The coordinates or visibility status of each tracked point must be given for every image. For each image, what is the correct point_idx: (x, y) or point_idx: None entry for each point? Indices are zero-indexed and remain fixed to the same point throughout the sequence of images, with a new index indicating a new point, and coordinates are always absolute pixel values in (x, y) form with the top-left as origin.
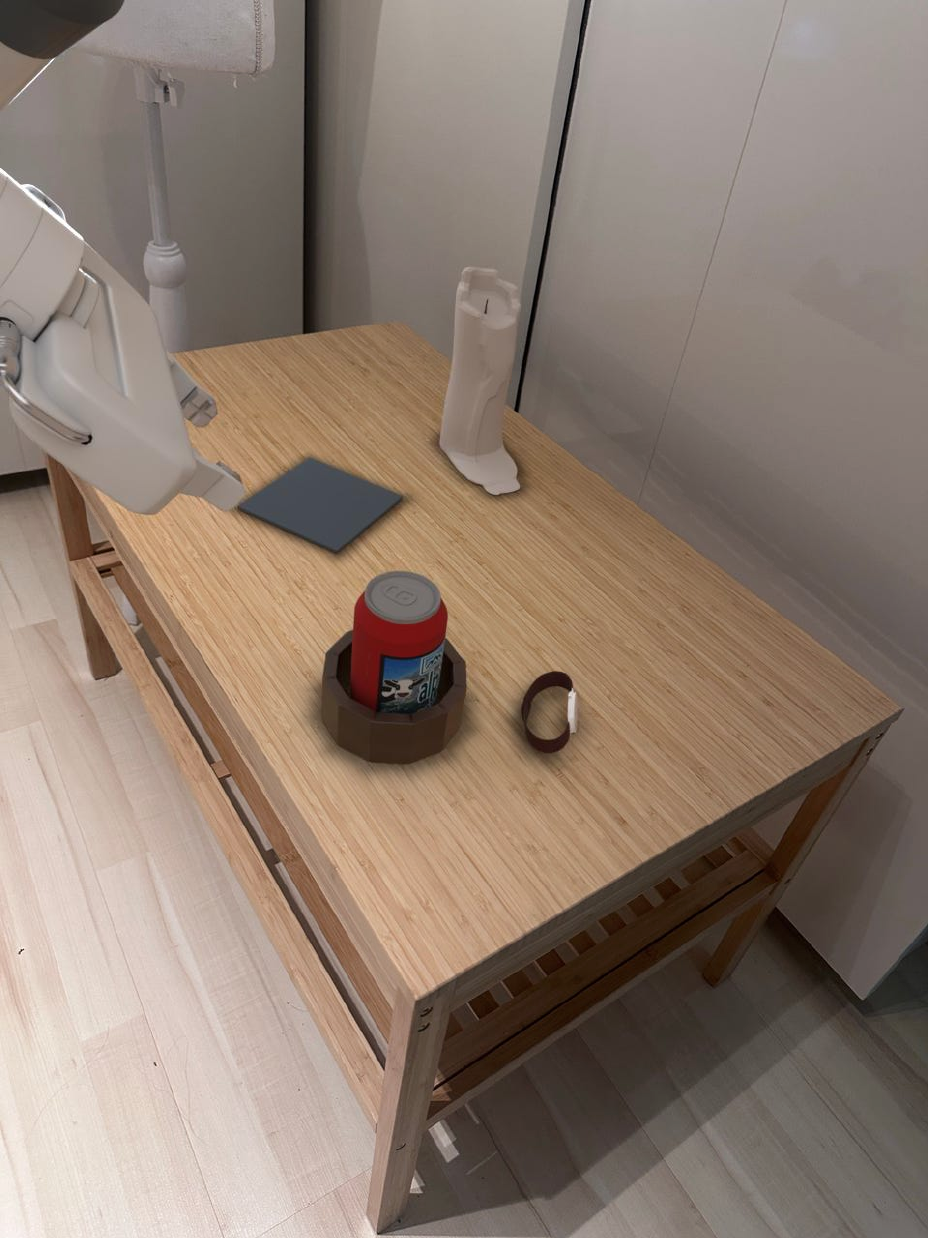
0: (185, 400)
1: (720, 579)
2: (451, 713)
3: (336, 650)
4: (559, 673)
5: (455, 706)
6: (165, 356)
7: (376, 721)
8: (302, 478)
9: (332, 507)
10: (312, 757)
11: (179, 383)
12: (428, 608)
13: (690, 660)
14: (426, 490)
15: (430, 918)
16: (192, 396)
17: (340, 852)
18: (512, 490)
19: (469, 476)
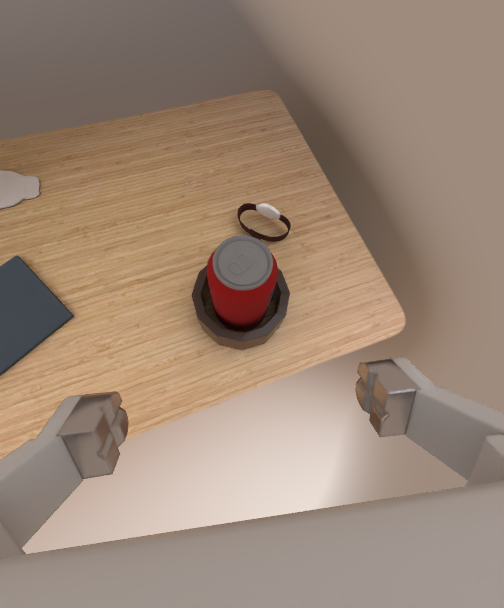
0: (83, 460)
1: (167, 109)
2: None
3: (216, 328)
4: (240, 208)
5: None
6: (81, 567)
7: (285, 313)
8: None
9: (11, 310)
10: (271, 359)
11: (39, 479)
12: (258, 247)
13: (228, 148)
14: (13, 237)
15: (377, 314)
16: (88, 444)
17: (338, 352)
18: (38, 182)
19: (8, 204)
